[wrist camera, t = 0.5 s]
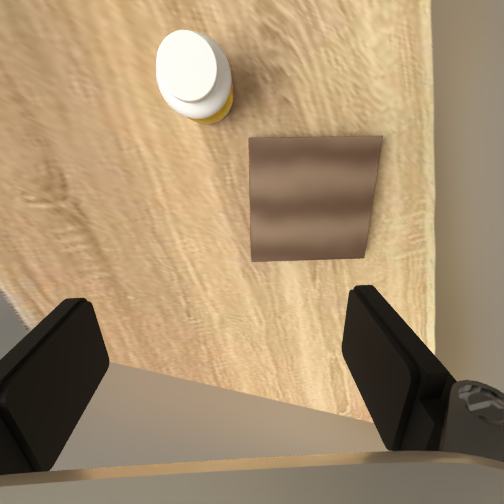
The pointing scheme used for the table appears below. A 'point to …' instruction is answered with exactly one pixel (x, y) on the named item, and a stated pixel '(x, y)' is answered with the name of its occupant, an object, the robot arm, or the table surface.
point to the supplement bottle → (194, 76)
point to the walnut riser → (311, 196)
